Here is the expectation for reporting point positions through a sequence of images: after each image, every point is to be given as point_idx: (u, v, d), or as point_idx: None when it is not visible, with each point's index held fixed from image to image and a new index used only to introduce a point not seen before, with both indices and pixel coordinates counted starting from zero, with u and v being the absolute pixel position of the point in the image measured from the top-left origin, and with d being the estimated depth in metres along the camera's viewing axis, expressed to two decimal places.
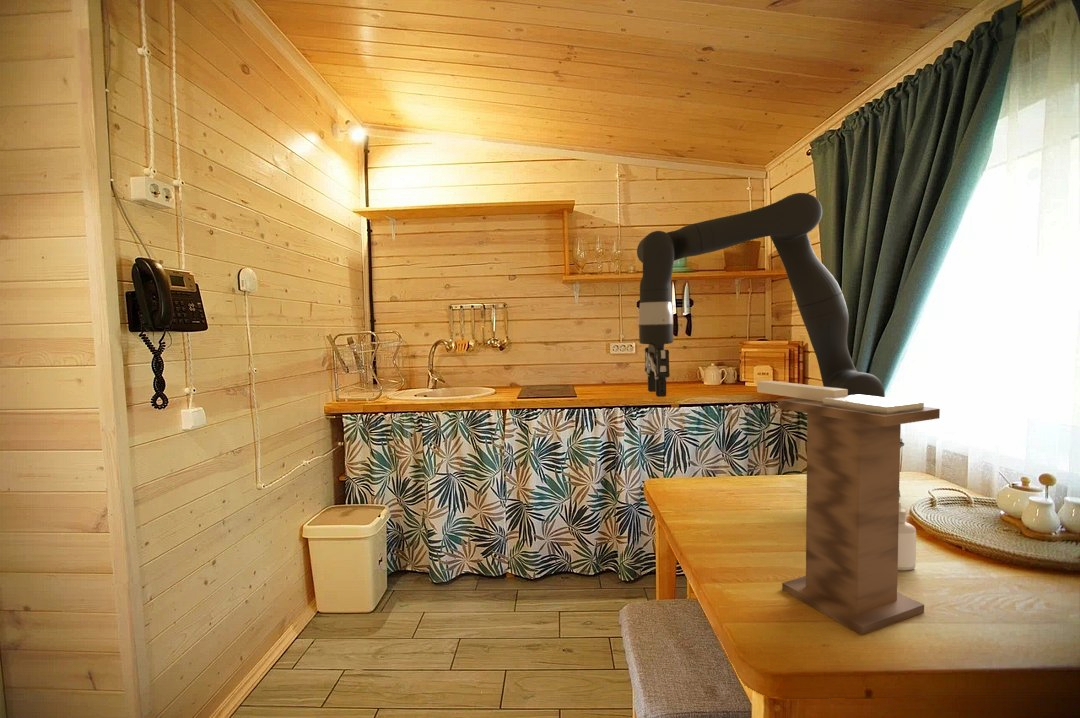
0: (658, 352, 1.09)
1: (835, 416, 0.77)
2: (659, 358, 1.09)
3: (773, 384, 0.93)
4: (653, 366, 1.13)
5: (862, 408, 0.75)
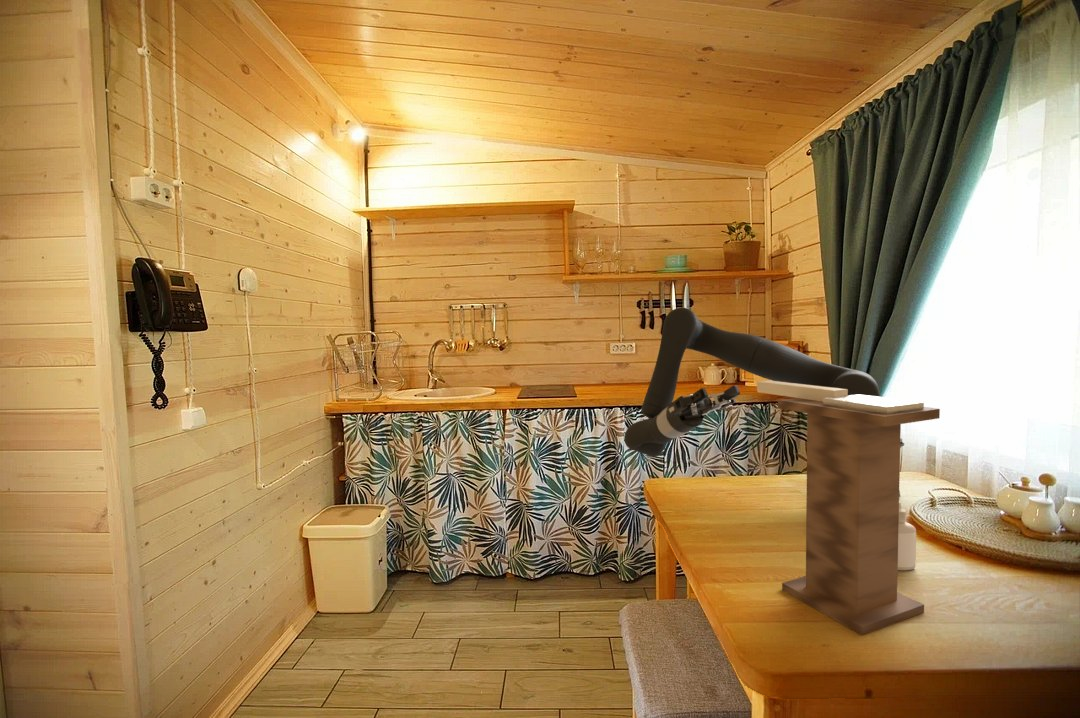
0: (671, 414, 1.13)
1: (835, 416, 0.77)
2: (673, 412, 1.12)
3: (773, 384, 0.93)
4: (691, 410, 1.11)
5: (862, 408, 0.75)
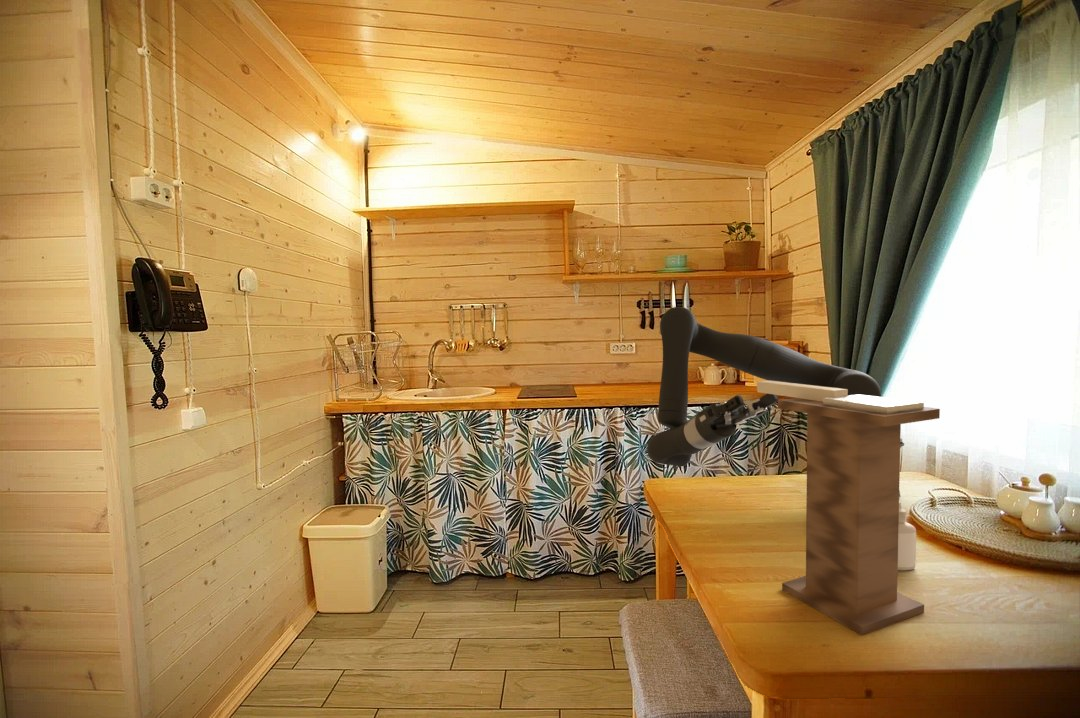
0: (702, 424, 1.04)
1: (835, 416, 0.77)
2: (705, 421, 1.02)
3: (773, 384, 0.93)
4: (724, 419, 1.02)
5: (862, 408, 0.75)
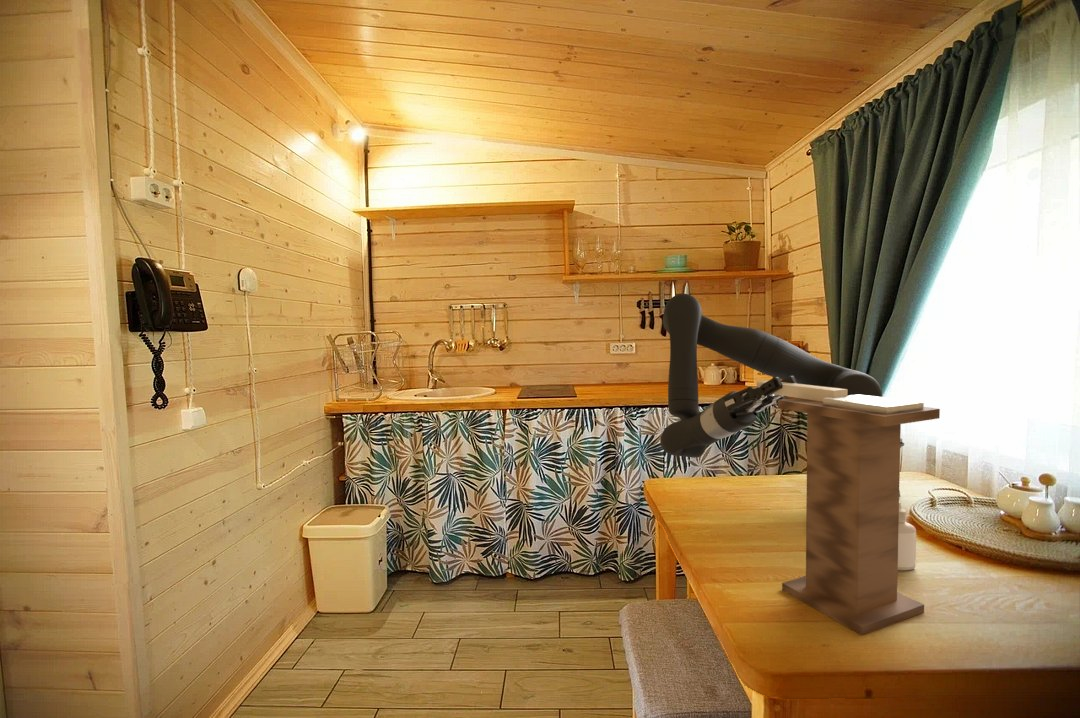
0: (728, 408, 0.97)
1: (835, 416, 0.77)
2: (734, 405, 0.96)
3: None
4: (754, 404, 0.96)
5: (862, 408, 0.75)
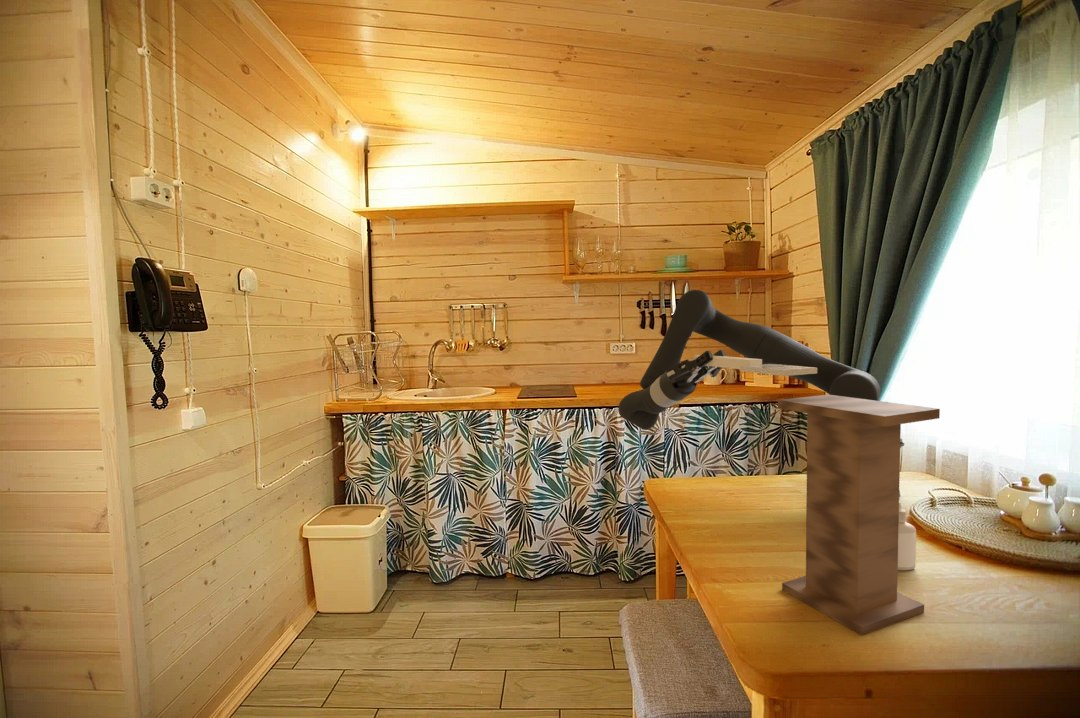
0: (669, 378, 1.13)
1: (835, 416, 0.77)
2: (674, 375, 1.12)
3: None
4: (691, 374, 1.12)
5: (767, 372, 0.91)
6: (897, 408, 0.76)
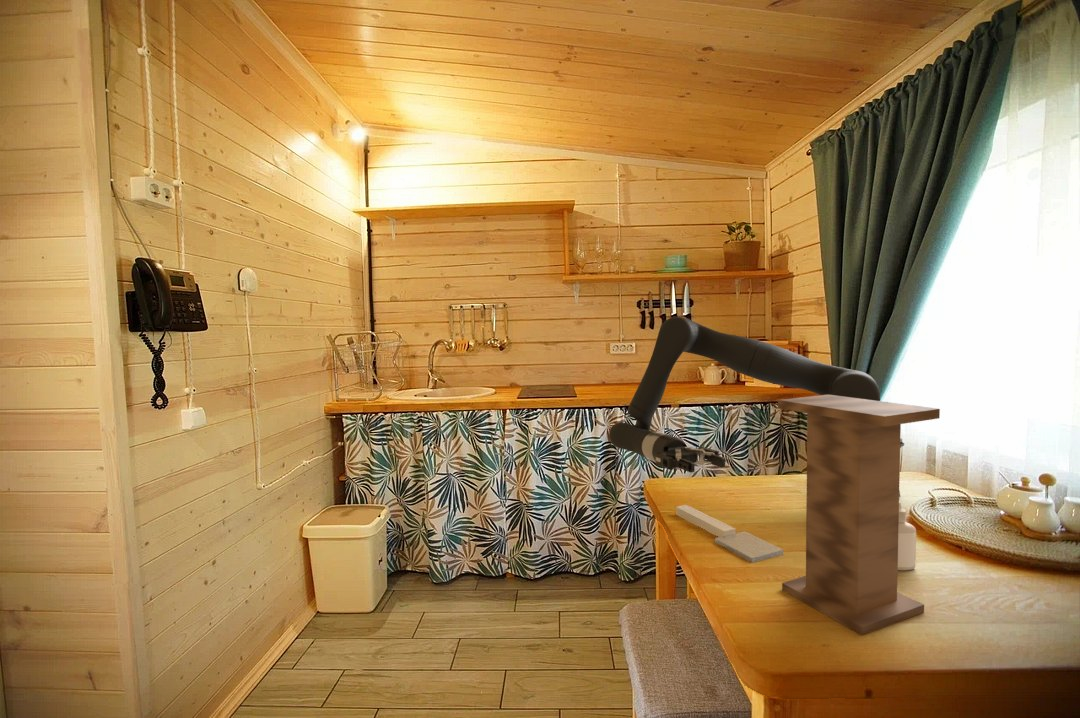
0: (656, 463, 1.19)
1: (835, 416, 0.77)
2: (659, 463, 1.18)
3: (686, 512, 1.18)
4: None
5: (737, 554, 1.00)
6: (897, 408, 0.76)
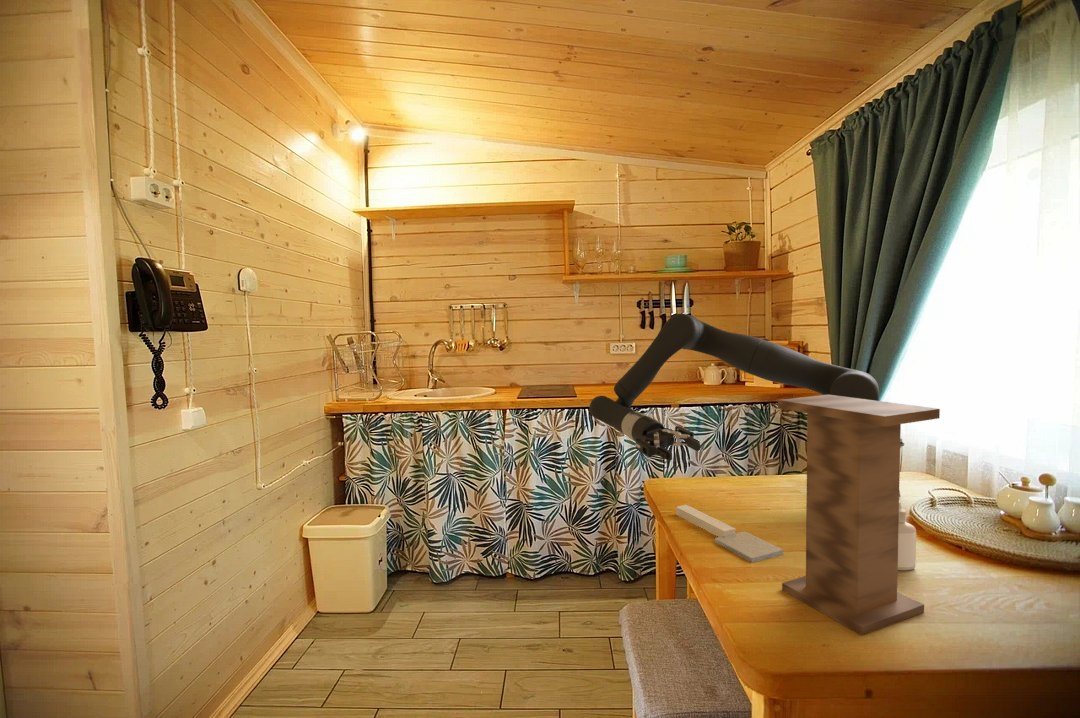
0: (636, 448, 1.27)
1: (835, 416, 0.77)
2: (638, 449, 1.26)
3: (686, 512, 1.18)
4: None
5: (737, 554, 1.00)
6: (897, 408, 0.76)
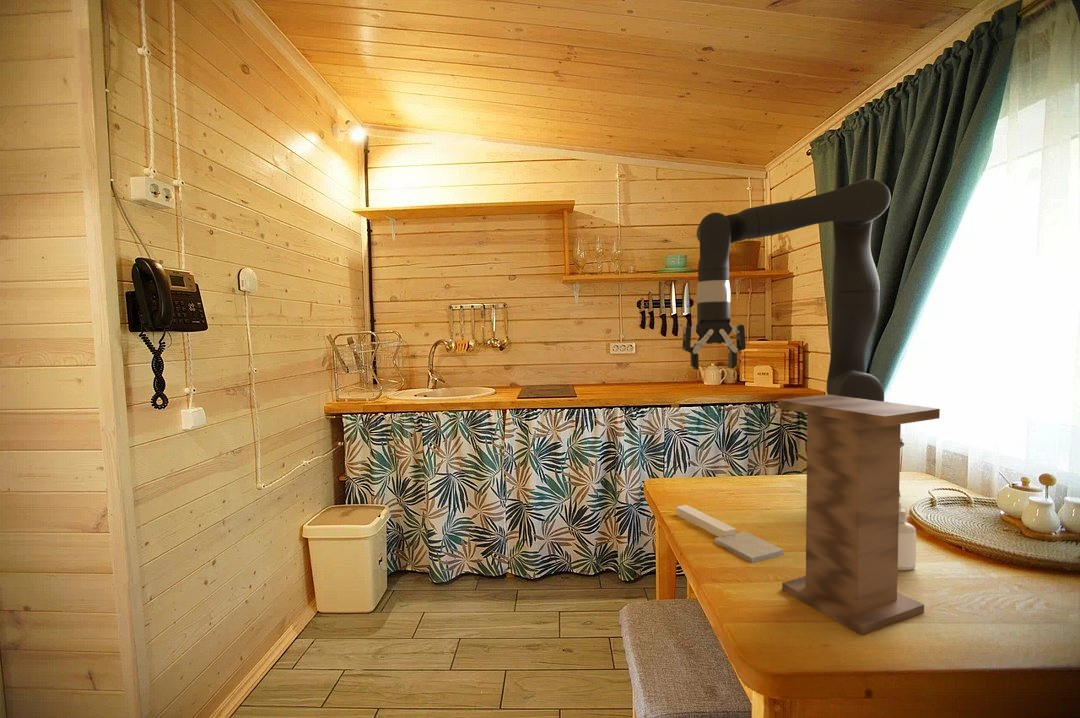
0: (683, 328, 1.23)
1: (835, 416, 0.77)
2: (683, 333, 1.23)
3: (686, 512, 1.18)
4: (695, 341, 1.24)
5: (737, 554, 1.00)
6: (897, 408, 0.76)
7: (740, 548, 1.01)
